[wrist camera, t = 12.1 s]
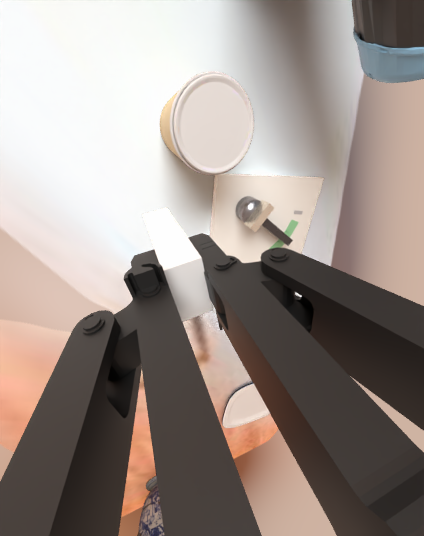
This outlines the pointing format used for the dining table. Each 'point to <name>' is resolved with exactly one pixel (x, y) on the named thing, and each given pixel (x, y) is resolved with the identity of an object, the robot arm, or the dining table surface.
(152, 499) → the decorative vase
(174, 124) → the coffee cup
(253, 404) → the plate
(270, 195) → the gauge board
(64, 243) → the dining table surface
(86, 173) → the dining table surface
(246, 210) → the dark grey lever
